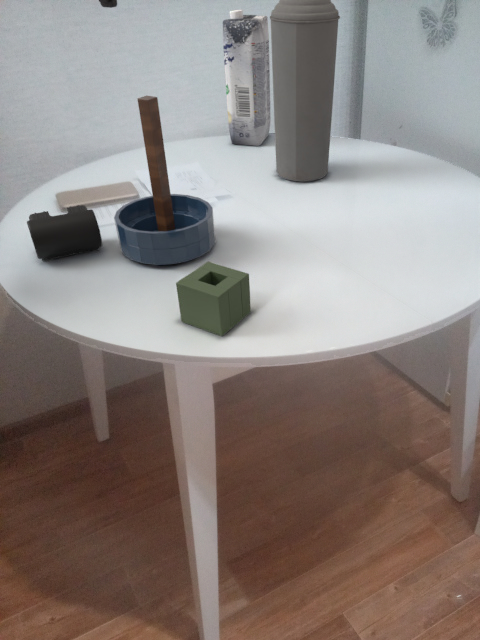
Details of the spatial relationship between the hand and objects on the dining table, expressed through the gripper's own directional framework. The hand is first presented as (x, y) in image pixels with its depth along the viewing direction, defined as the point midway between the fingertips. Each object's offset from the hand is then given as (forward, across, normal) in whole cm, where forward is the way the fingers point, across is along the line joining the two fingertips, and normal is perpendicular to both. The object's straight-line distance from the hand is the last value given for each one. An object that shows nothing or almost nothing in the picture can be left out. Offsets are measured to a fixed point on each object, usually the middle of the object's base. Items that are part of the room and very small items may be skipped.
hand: (133, 3), depth 71 cm
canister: (+34, -41, +2) cm, 53 cm away
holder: (+34, +13, +20) cm, 41 cm away
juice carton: (+34, -55, -21) cm, 68 cm away
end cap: (+34, +10, -12) cm, 38 cm away
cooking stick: (+33, 0, 0) cm, 33 cm away
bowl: (+34, 0, 0) cm, 34 cm away
